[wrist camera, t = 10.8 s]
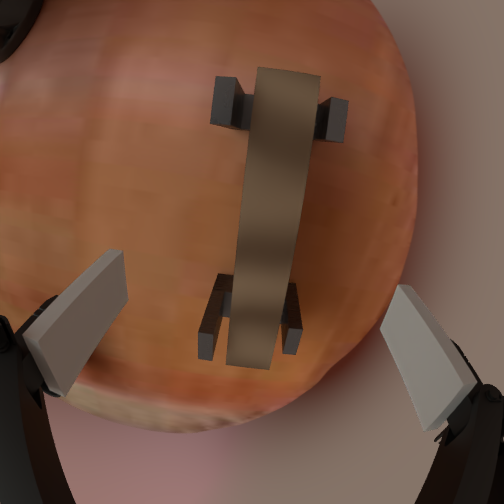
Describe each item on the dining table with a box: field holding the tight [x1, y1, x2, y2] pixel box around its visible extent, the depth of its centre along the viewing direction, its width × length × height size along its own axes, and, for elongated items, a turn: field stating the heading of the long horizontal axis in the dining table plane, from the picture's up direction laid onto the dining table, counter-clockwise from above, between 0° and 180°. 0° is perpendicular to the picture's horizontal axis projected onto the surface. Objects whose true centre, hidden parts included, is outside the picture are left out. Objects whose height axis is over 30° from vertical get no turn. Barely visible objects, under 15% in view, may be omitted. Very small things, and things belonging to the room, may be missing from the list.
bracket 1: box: [210, 76, 349, 143], centre depth 19 cm, size 3×8×10 cm, turn 83°
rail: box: [226, 67, 321, 370], centre depth 22 cm, size 24×4×5 cm, turn 173°
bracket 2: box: [198, 274, 303, 361], centre depth 26 cm, size 3×8×10 cm, turn 83°
